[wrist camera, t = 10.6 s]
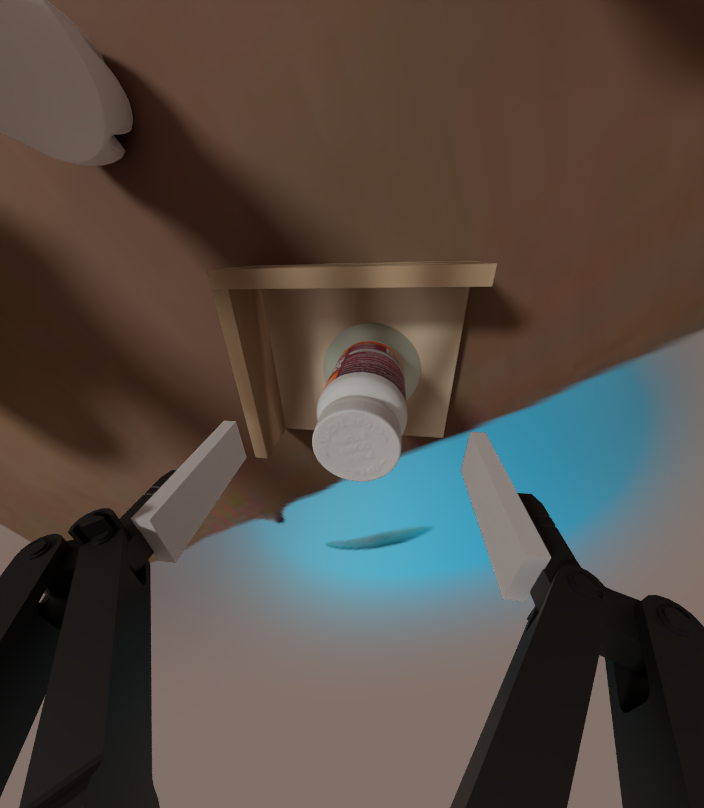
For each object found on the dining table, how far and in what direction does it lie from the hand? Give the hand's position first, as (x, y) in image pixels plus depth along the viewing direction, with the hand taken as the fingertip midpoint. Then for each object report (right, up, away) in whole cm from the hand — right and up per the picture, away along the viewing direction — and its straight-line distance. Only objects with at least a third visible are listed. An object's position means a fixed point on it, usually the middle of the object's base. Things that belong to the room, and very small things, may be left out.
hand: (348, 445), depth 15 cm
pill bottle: (+2, +5, +10) cm, 11 cm away
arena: (+1, +7, +10) cm, 12 cm away
